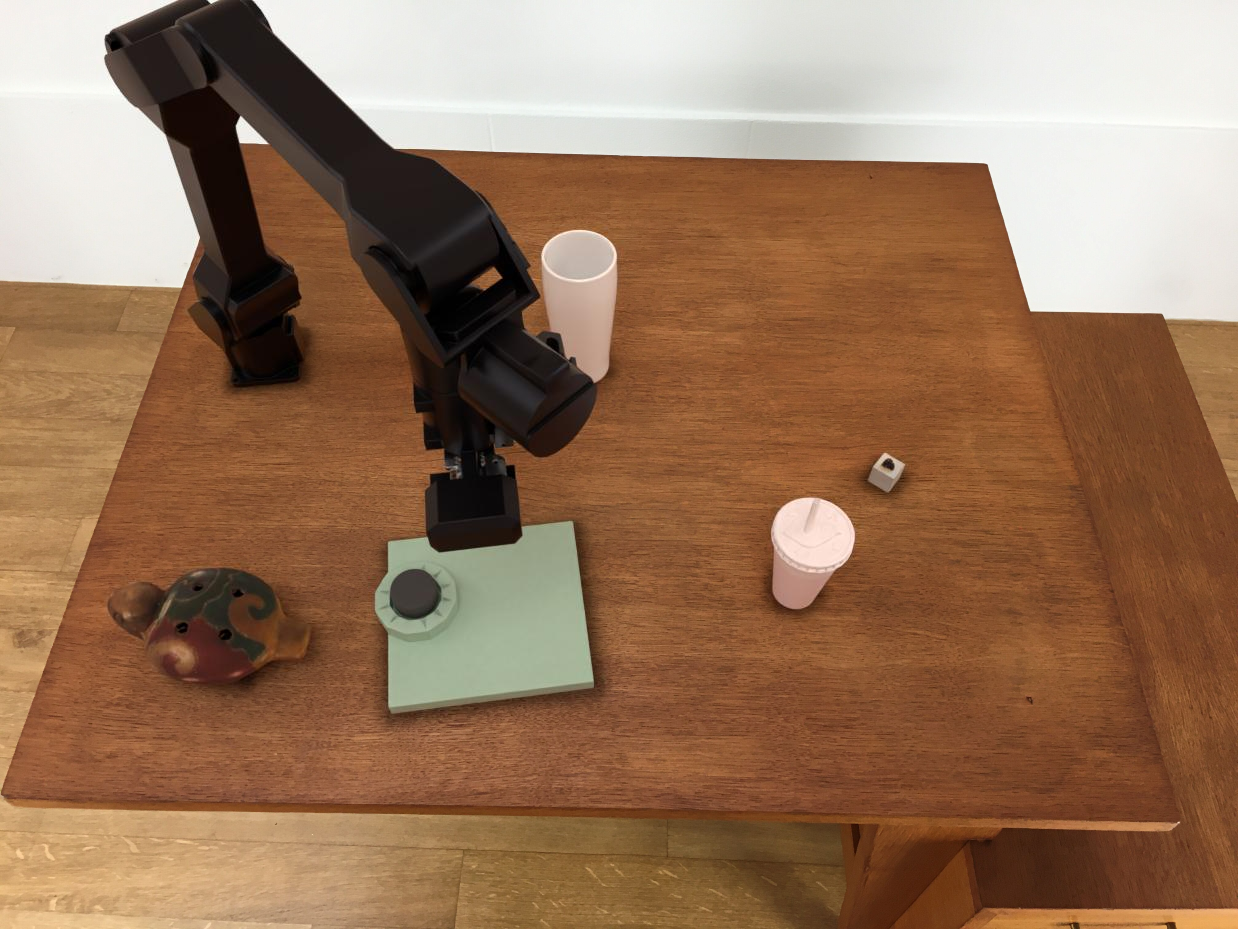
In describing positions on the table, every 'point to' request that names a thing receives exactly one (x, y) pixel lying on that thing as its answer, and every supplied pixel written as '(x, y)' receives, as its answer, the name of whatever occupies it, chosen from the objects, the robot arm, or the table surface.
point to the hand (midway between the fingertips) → (481, 493)
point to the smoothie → (808, 549)
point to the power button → (414, 593)
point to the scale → (488, 622)
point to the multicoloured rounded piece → (209, 625)
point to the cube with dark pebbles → (886, 472)
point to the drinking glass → (581, 296)
